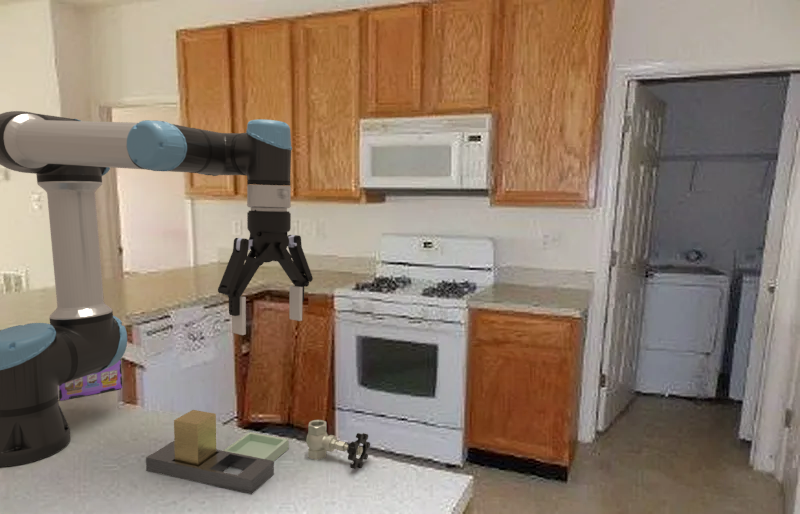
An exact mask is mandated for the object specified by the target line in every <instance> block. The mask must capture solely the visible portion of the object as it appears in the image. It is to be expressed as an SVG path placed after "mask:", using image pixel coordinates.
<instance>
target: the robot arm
mask: <svg viewBox="0 0 800 514" xmlns="http://www.w3.org/2000/svg"><path fill="white" fill-rule="evenodd" d="M291 135H292V133H291V128H290V125H289V124H288V123H287V122H284V121H281V120H276V119H275V120H273V119H262V118H261V119H260V118H259V119H252V120H251V119H250V120H249V121H248V122H247V125H246V130H245V132H241V133H236V132H234V133H233V132H232V133H229V132H218V131H211V130H207V129H202V128H201V129H200V128H196V127H189V126H184V125H179V124H174V123H170V122H168V121H164V120H141V121H139V122H129V121H128V122H127V121H126V122H123V121H122V122H120V121H94V120H93V121H89V120H88V121H87V120H86V121H85V120H81V119H78V118H70V117H61V116H56V115H48V114H41V113H35V112H30V111H22V110H15V111H13V110H10V111H5V112H2V113H0V166H2V167H4V168H6V169H8V170H10V171H14V172H18V173H23V174H35V175H36V182H37V185H38V186H39V187H40V188H41V189H43V191H45V192H46V195H47V196H46V197H47V206H48V218H49V228H50V240H51V252H52V262H53V264H52V265H53V275H54V284H55V295H56V297H55V298H56V309H55V310H54V311H52V313H51V314H50V315H49V323H47V322H32V323H31V322H30V323H26V324H22V325H21V324H18V325H14V326H11V327H7V328H3V329H1V330H0V467H1V468H2V467H12V466H19V465H23V464H29V463H33V462H36V461H40V460H42V459H45V458H48V457H49V456H52V455H54V454H56V453H59V452H60V451H62V450H63V449H64V448H66V447H67V446H68V444H70V442H71V428H70V426H69V424H68V421H67V420H66V416H65V414H64V412H63V410H62V409H61V407H60V405H59V399H58V385H60V384H63V383H66V382H69V381H72V380H75V379H78V378H81V377H84V376H87V375H90V374H93V373H98V372H101V371H103V370H105V369H106V368H109V367H111V366H113V365H115V364H116V363H117V362H118V361H119V360H120V359H121V360H122V358H123V356H124V354H125V352H126V350H127V347H128V332H127V329H126V325H122V324H123V321H122V320H121V319H120V318H118V317H117V316H116V315H114V311H113V308H111V307H110V306H109V305H108V304H106V303H105V302H104V301H105V300H104V287H103V286H104V284H103V276H102V274H103V273H102V264H101V252H100V251H101V249H100V239H99V238H100V237H99V225H98V213H97V201H96V200H97V199H96V191H97V190H98V189H99V188H100V187H101V186H102V185H103V176H105V175H107V173H108V172H110V170H111V168H116V169H132V170H133V169H134V170H148V171H153V172H173V173H174V172H175V173H190V174H199V175H204V176H212V177H216V176H246V179H247V185H246V186H247V188H246V189H247V190H246V192H247V193H246V196H247V197H246V199H247V200H246V206H247V207H248V208H250V210H248V212H246V213H247V216H246V217H247V219H246V220H247V222H246V223H247V228H246V229H247V230H248V232H249V238H244V237H235V238H234V240H233V245H232V253H231V255H230V258H229V259H228V262H227V266H226V268H225V270H224V273H223V276H222V278H221V280H220V284H219V286H218V288H217V292H218V294H220V295H221V294H222V295H225V296H227V297H228V314H229V316H231V333H232V334H236V335H240V336H244V335H246V334H247V328H246V327H247V325H246V324H247V320H246V318H247V317H246V316H247V313H246V312H247V311H246V308H247V304H246V303H247V302H246V301H247V299H246V298H247V296H242V295H243V294H244V292H245V290H246V289H247V287H248V286H249V284H250V282H251V280H253V278H254V276H255V275H256V272H258V269H259V268H260V267H261V266H263V264H264V263H272V262H278V264H279V265H280V267H281V268H282V270H283V271H284V272H285V274H286V276H288V279H289V280H290V281H291V283H292V285H289V303H288V304H289V308H288V309H289V310H288V311H289V312H288V313H289V314H288V315H289V317H288V318H289V320H291V321H292V320H293V321H297V322H302V321H303V303H304V302H305V301H304V300H305V287H306V288H307V287H309V286H310V283H311V282H312V281H313V279H314V278H313V275H312V272H311V269H310V266H309V264H308V261H307V258H306V255H305V252H304V249H303V248H302V237H301V235H296V234H288V233H289V232H290V231H291V230H292V228H291V227H292V225H291V222H292V221H291V219H292V217H291V212H290V211H288V209H290V208H291V202H292V201H291V196H292V194H291V192H292V191H291V190H292V189H291V187H292V186H291V185H292V184H291V174H292V173H291V172H292V171H291V170H292V168H291V165H292V163H291V162H292V151H293V147H292V136H291Z"/></svg>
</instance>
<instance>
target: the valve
mask: <svg viewBox="0 0 800 514" xmlns="http://www.w3.org/2000/svg"><path fill="white" fill-rule="evenodd" d="M307 428H308V429H307V430H308V431H307V435H306V441H305V442H306V445H307V447H308V449H307V451H308V452H307V453H308V454H307V457H308V459H311V460H315V461H319V460H322V459H326V457H327V452H330V453H333V452H334V451H335V450H337V451H339V452H344V453H345V452H347V454H348V456H347V460H348V461H352V462H353V463H349V467H350V469H353V470H356V469H362V468H363V466H364V463H363V461H367V460H368V459H369V458H368V457H369V454H368V453H367V450H368V449H369V448H370V447H371V442H370V441H367V440H368V439H369V434H368V433H366V432H365V433H364V432H363V433H359V432H357V433H356V435H355V438H356V439H357V440H355V441H351V442H350V443H349V444H348V442H345V441H341V440H338V437H337V436H336V435H333V434H330V435H329V434H328V432H327V421H326V420H323V419H314V420H310V421H309V422H308V427H307ZM360 445H362V446H360ZM357 456H359V458H357Z"/></svg>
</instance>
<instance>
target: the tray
mask: <svg viewBox="0 0 800 514" xmlns="http://www.w3.org/2000/svg"><path fill="white" fill-rule="evenodd" d="M289 441H290V440H289V438H284V437H279V436H273V435H268V434H262V433H257V432H250V431H249V432H247V433H246V434H244V435H243V436H241V437H240V438H239V439H237V440H236V441H234V442H233V443H232V444H230V445H229V446H227V447H226V448H225V449H223V450H222V451H227V452H232V453H237V454H242V455H246V456H251V457H256V458H261V459H266V460H271V461H274V462H275V461H276V460H277V459H279V458H280V456H283V454H284V453H286V452H287V451H288V450H289V448H290V445H289V443H290V442H289Z"/></svg>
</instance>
